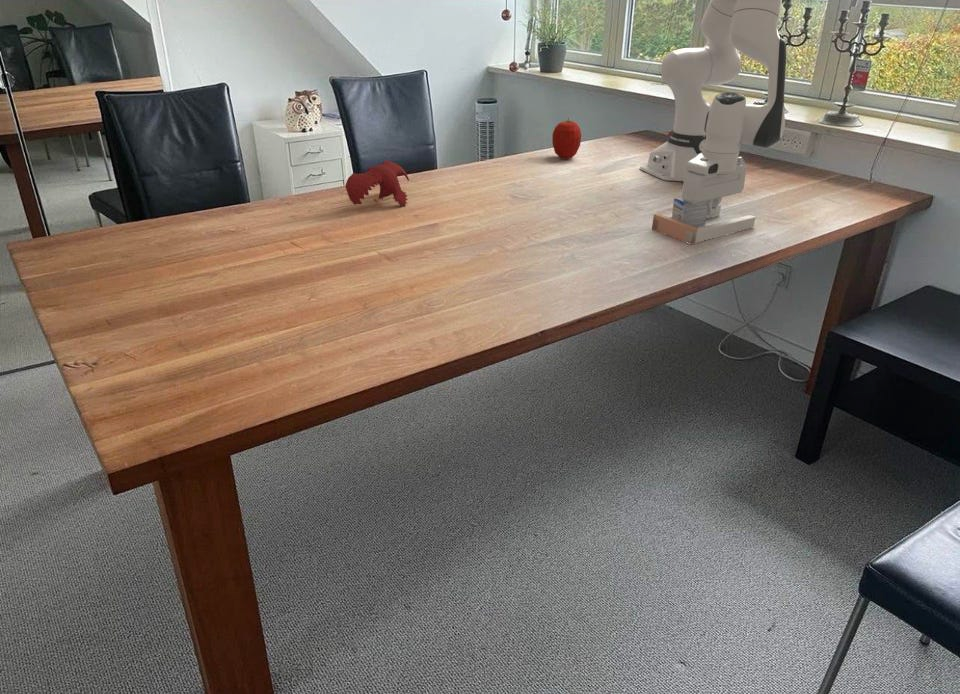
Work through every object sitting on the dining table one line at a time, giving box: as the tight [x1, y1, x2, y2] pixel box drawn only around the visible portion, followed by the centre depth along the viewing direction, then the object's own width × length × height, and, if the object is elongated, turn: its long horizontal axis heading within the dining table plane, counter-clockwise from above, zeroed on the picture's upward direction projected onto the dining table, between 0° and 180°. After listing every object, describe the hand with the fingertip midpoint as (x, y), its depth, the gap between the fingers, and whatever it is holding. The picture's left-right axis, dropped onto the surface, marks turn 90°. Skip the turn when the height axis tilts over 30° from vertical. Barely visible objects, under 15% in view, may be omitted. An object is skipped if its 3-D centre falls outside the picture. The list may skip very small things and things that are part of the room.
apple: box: [551, 117, 582, 160], centre depth 245 cm, size 10×10×14 cm
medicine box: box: [671, 196, 709, 228], centre depth 182 cm, size 8×4×9 cm, turn 115°
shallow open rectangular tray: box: [651, 204, 756, 245], centre depth 185 cm, size 14×24×4 cm, turn 123°
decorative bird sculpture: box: [345, 160, 410, 207], centre depth 199 cm, size 28×9×15 cm
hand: (709, 214), depth 184 cm, fingers closed
